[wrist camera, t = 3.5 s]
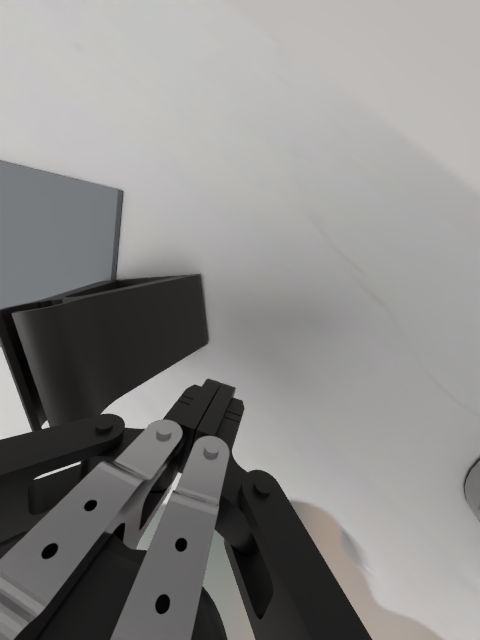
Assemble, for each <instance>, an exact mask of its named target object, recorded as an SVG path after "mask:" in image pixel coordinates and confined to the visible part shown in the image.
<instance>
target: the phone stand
mask: <svg viewBox="0 0 480 640" xmlns="http://www.w3.org/2000/svg"><path fill="white" fill-rule="evenodd" d="M0 344H1V347H2V349H3V352H4V355H5V358H6V360H7V363H8V366H9V369H10V371H11V374H12V377H13V380H14V383H15V385H16V388H17V391H18V394H19V396H20V399H21V402H22V405H23V407H24V410H25V413H26V416H27V418H28V421H29V424H30V427H31V429H32V432H34V431H38V430H42V428H41V427H42V425H43V424H44V422H45V421H46V420H48V423H49V426H50V427H53V426H57V425H61V424H65V423H69V422H73V421H77V420H81V419H85V418H89V417H93V416H97V415H100V414H101V413H102V412H103V411H104V410H105V409H106V408H107V407H108V406H109V405H110V404H111V403H112V402H114V401H115V400H116V399H118V398H119V397H121V396H123V395H124V394H126V393H128V392H129V391H131V390H133V389H134V388H136V387H137V386H139V385H141V384H142V383H144V382H146V381H147V380H149V379H151V378H152V377H154V376H155V375H157V374H159V373H160V372H162V371H164V370H165V369H167V368H169V367H170V366H172V365H173V364H175V363H177V362H178V361H180V360H182V359H183V358H185V357H187V356H188V355H190V354H191V353H193V352H195V351H196V350H198V349H200V348H201V347H203V346H205V345H206V344H208V341H207V333H206V325H205V317H204V309H203V301H202V293H201V285H200V277H199V274H195V275H181V276H167V277H153V278H139V279H124V280H110V281H100V282H97V283H93V284H90V285H87V286H84V287H80V288H77V289H74V290H71V291H68V292H64V293H61V294H58V295H55V296H52V297H48V298H45V299H42V300H38V301H34V302H30V303H25V304H20V305H15V306H10V307H6V308H2V309H0Z"/></svg>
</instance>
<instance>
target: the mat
mask: <svg viewBox="0 0 480 640" xmlns="http://www.w3.org/2000/svg"><path fill="white" fill-rule="evenodd" d="M122 197H123V191H121V190H118V189H113V188H109V187H105V186H101V185H97V184H93V183H89V182H85V181H81V180H77V179H73V178H69V177H65V176H61V175H56V174H52V173H48V172H44V171H40V170H36V169H32V168H28V167H24V166H20V165H16V164H12V163H8V162H4V161H0V309H2V308H6V307H10V306H15V305H20V304H25V303H30V302H34V301H38V300H42V299H45V298H48V297H52V296H55V295H58V294H61V293H64V292H68V291H71V290H74V289H77V288H80V287H84V286H87V285H90V284H93V283H97V282H100V281H110V280H115V279H116V268H117V256H118V244H119V232H120V221H121V209H122ZM0 347H1V344H0Z"/></svg>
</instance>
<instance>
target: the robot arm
mask: <svg viewBox="0 0 480 640" xmlns="http://www.w3.org/2000/svg"><path fill="white" fill-rule="evenodd" d="M235 389H236V388H235V387H232V386H229V385H226V384H223V383H222V384H221V383H220V382H217V381H214V380H211V379H207V380H206V381H205V383H204V384H203V386H202V387H201V386H198V385H193V386H191V387H189V388H187V389H186V390H185V391H184V393H183V394H182V396H180V398H179V399H178V401H177V402H176V403H175V404H174V405H173V407H172V408H171V409H170V411H169V412H168V413H167V414H166V416H165V417H164V418H163V420H158V421H155V422H153V423H151V424H150V425H149V426H148V427H147V428H146V429H133V428H125V423H124V421H123V419H122V418H121V417H119V416H117V415H114V414H101V415H97V416H93V417H89V418H85V419H81V420H77V421H73V422H69V423H65V424H61V425H57V426H53V427H49V428H45V429H42V430H38V431H34V432H30V433H26V434H22V435H18V436H14V437H10V438H6V439H2V440H0V640H227V636H226V632H225V629H224V625H223V622H222V620H221V617H220V614H219V612H218V610H217V608H216V605H215V603H214V602H213V600H212V598H211V597H210V595H209V593H208V592H207V591H206V590H205V589H204V587H203V586H202V585H203V580H204V576H205V571H206V566H207V561H208V557H209V552H210V547H211V543H212V538H213V533H214V529H215V530H216V531H217V532H218V533H219V534H221V536H223V537H224V545H225V549H226V552H227V555H228V558H229V561H230V564H231V567H232V570H233V573H234V576H235V579H236V582H237V585H238V588H239V591H240V594H241V597H242V600H243V603H244V606H245V609H246V612H247V615H248V618H249V621H250V624H251V627H252V630H253V633H254V636H255V639H256V640H372V639H371V637H370V635H369V633H368V632H367V630H366V629H365V627H364V625H363V624H362V622H361V620H360V618H359V617H358V615H357V613H356V612H355V610H354V609H353V607H352V605H351V604H350V602H349V600H348V599H347V597H346V595H345V594H344V592H343V590H342V589H341V587H340V585H339V584H338V582H337V581H336V579H335V577H334V575H333V574H332V572H331V570H330V569H329V567H328V565H327V564H326V562H325V560H324V559H323V557H322V555H321V554H320V552H319V550H318V549H317V547H316V545H315V544H314V542H313V540H312V539H311V537H310V535H309V534H308V532H307V530H306V529H305V527H304V525H303V524H302V522H301V520H300V519H299V517H298V515H297V514H296V512H295V510H294V509H293V507H292V505H291V504H290V502H289V500H288V499H287V497H286V495H285V494H284V492H283V490H282V489H281V487H280V485H279V484H278V482H277V481H276V479H275V478H274V477H273V476H271V475H270V474H269V473H267V472H265V471H261V470H252V471H250V472H246V471H245V470H244V469H242V468H241V467H240V466H239V465H238V464H237V463H236V461H235V460H234V458H233V455H232V448H233V444H234V441H235V438H236V435H237V432H238V428H239V425H240V421H241V418H242V415H243V411H244V405H243V401H242V400H239V399H236V398H233V396H234V393H235ZM80 461H81V464H79V465H76V466H74V467H71V468H68V469H65V470H62V471H59V472H57V473H54V474H51V475H48V476H45V477H42V478H40V479H35V478H36V477H38V476H40V475H42V474H45V473H48V472H51V471H54V470H56V469H59V468H62V467H65V466H68V465H71V464H74V463H77V462H80ZM178 472H179V473H182V475H181V478H180V480H179V483H178V485H177V487H176V490H175V491H174V490H173V492H172V494H171V496H170V498H169V500H168V503H167V505H166V507H165V510H164V512H163V515H162V517H161V519H160V522H159V524H158V527H157V529H156V531H155V534H154V537H153V539H152V541H151V543H150V546H149V548H148V551H146V550H136V547H137V545H138V543H139V541H140V539H141V537H142V535H143V534H144V532H145V530H146V529H147V527H148V525H149V524H150V522H151V520H152V519H153V517H154V516H155V514H156V512H157V511H158V509H159V507H160V506H161V504H162V503H163V501H164V499H165V498H166V496H167V494H168V493H169V491H170V489H171V486H172V483H173V481H174V479H175V477H176V475H177V473H178ZM33 479H35V480H33ZM465 496H466V500H467V502H468V504H469V506H470V508H471V510H472V511H473V513H474V514H475V515H476V517H477V518H478V520H479V521H480V461H479V462H478V463H477V464H476V465H475V466H474V467H473V468H472V469H471V471H470V473H469V475H468V477H467V479H466V484H465Z"/></svg>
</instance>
